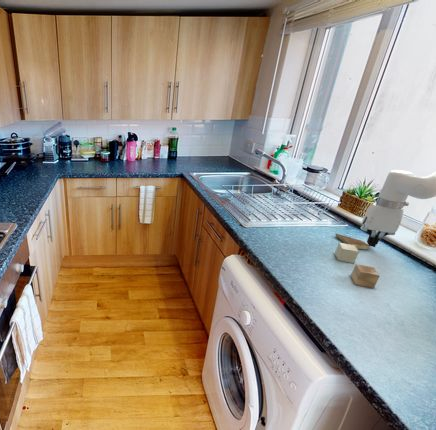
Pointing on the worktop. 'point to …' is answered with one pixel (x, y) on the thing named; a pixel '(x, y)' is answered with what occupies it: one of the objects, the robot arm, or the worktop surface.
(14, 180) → the worktop surface
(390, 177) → the robot arm
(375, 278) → the maple block
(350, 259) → the cream block
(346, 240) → the shard
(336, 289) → the worktop surface
